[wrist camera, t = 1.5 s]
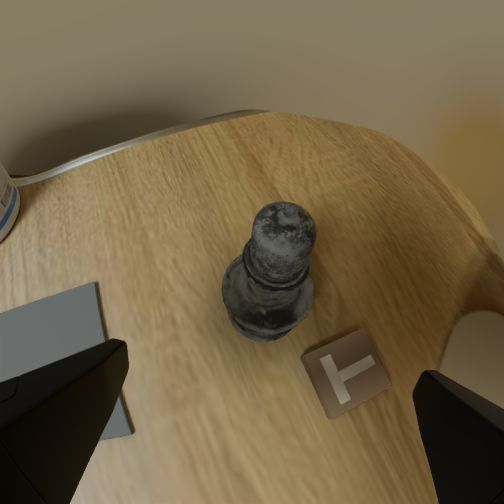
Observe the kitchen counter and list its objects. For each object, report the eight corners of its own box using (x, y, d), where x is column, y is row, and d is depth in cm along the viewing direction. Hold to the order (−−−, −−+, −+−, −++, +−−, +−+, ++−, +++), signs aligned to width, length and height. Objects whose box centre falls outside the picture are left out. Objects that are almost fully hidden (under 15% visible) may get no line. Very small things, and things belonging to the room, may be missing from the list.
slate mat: (133, 434, 17) (131, 434, 17) (12, 449, 14) (9, 449, 14) (95, 283, 22) (93, 281, 22) (-8, 318, 19) (-11, 317, 19)
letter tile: (382, 387, 20) (392, 385, 19) (326, 418, 19) (333, 419, 17) (356, 332, 22) (364, 326, 21) (299, 358, 21) (304, 354, 20)
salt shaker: (259, 256, 24) (278, 136, 14) (318, 303, 23) (384, 205, 12) (206, 308, 22) (184, 206, 11) (268, 362, 20) (307, 305, 10)
